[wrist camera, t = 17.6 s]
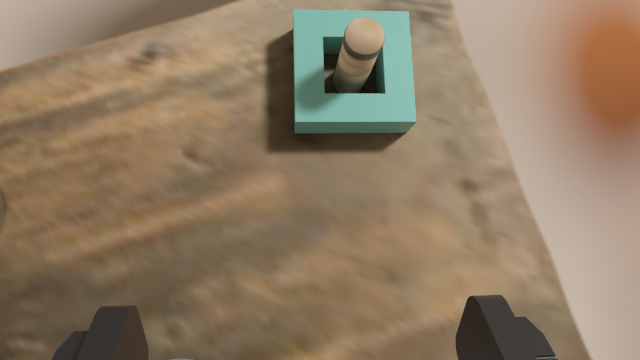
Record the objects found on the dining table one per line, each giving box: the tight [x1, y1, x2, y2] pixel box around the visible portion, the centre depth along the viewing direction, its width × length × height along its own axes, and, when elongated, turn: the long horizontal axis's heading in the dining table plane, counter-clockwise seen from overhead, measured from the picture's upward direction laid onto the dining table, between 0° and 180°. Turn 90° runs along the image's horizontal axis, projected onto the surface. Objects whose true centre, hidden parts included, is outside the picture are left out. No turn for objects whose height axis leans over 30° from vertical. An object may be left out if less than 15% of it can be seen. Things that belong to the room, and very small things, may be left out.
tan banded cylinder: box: [333, 17, 385, 93], centre depth 41 cm, size 3×3×9 cm
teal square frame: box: [293, 10, 416, 133], centre depth 44 cm, size 11×11×4 cm
